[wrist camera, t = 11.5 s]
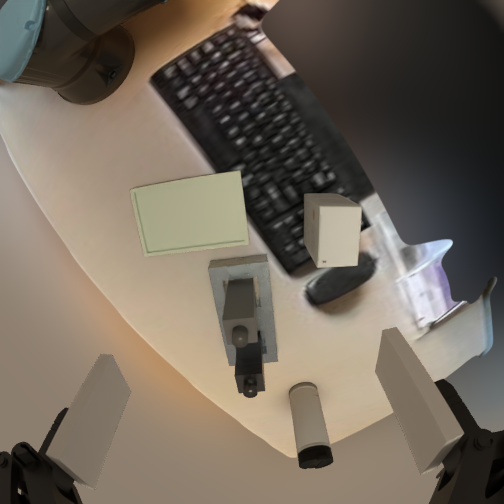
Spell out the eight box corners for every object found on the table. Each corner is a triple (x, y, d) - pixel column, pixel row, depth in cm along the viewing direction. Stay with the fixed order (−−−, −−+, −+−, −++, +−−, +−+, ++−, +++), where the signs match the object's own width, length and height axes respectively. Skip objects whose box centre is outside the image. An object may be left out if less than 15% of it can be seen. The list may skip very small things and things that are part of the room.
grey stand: (210, 260, 46) (194, 309, 32) (266, 254, 45) (273, 302, 31) (230, 355, 53) (225, 414, 39) (276, 351, 52) (283, 410, 38)
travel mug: (321, 381, 56) (340, 457, 37) (311, 400, 58) (326, 472, 39) (294, 379, 55) (306, 459, 37) (285, 398, 58) (294, 473, 39)
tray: (132, 188, 41) (129, 189, 40) (240, 170, 41) (239, 170, 40) (147, 254, 45) (144, 257, 44) (249, 242, 45) (249, 244, 43)
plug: (228, 278, 46) (220, 329, 33) (253, 275, 46) (254, 326, 33) (232, 300, 47) (226, 354, 34) (255, 297, 47) (258, 352, 34)
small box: (336, 241, 45) (358, 267, 35) (302, 242, 45) (316, 269, 35) (338, 192, 42) (363, 206, 32) (303, 192, 42) (319, 205, 32)
